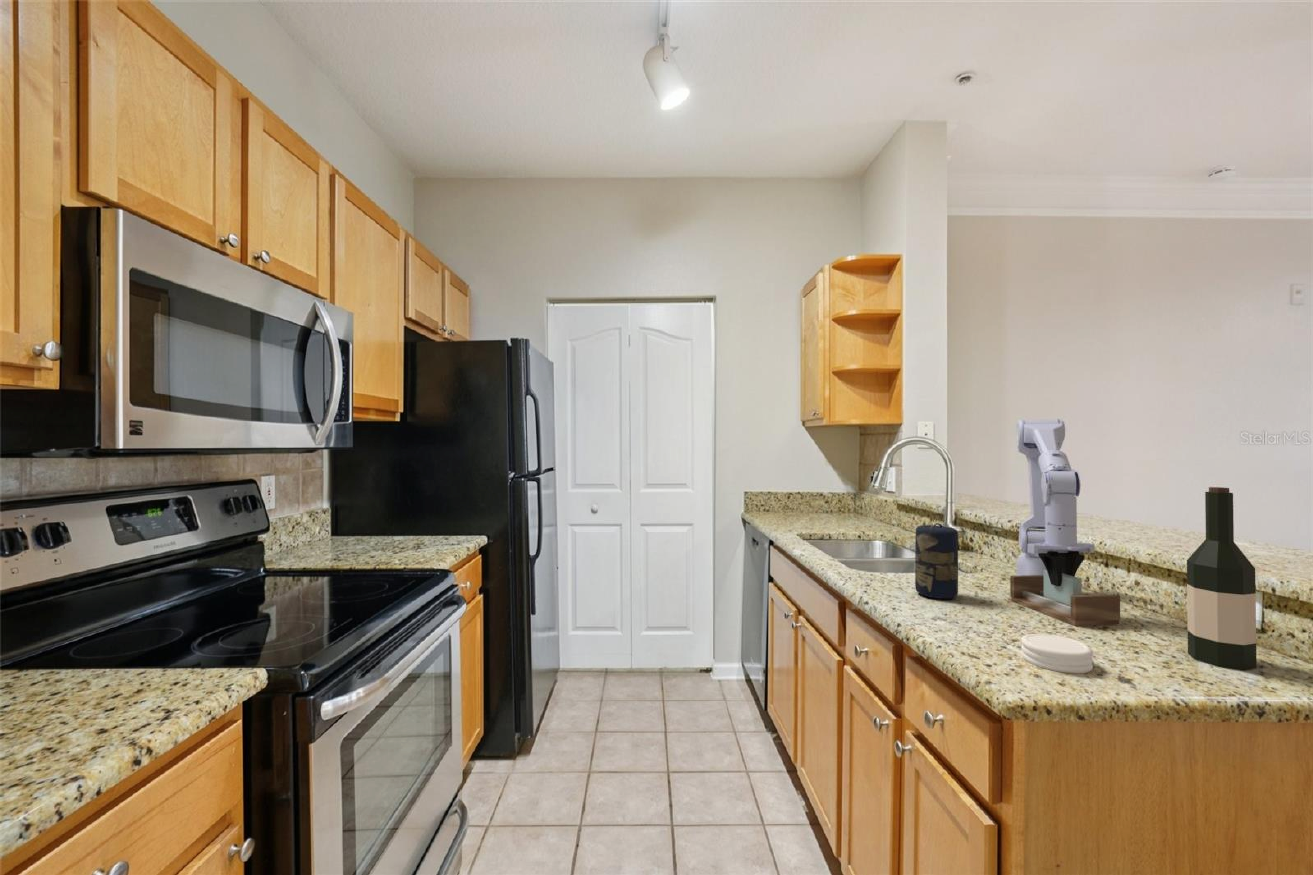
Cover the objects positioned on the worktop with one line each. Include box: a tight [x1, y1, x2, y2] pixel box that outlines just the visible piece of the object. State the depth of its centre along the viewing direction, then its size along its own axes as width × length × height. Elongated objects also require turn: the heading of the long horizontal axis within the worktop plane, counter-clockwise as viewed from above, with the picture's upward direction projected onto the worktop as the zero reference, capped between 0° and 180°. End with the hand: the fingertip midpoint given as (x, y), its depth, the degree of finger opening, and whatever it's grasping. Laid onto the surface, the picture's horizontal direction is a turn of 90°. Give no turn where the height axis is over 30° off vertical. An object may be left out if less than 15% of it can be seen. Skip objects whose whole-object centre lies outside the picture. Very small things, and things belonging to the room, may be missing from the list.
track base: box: [1009, 575, 1121, 627], centre depth 123 cm, size 18×10×6 cm, turn 5°
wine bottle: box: [1186, 486, 1258, 671], centre depth 95 cm, size 8×8×30 cm
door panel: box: [1044, 570, 1083, 606], centre depth 122 cm, size 8×2×6 cm, turn 5°
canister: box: [914, 522, 959, 599], centre depth 136 cm, size 10×10×18 cm
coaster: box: [1020, 633, 1094, 674], centre depth 95 cm, size 10×10×4 cm
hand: (1061, 585), depth 123 cm, fingers closed on door panel, 2 cm apart
